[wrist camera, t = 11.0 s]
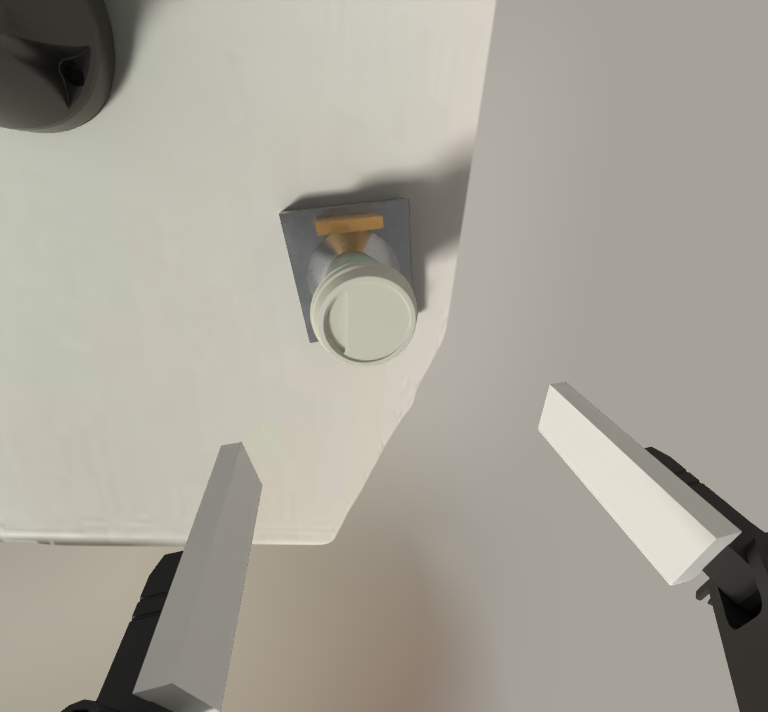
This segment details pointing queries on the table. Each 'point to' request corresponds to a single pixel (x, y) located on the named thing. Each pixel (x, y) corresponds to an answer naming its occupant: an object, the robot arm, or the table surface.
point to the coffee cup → (363, 310)
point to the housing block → (344, 241)
